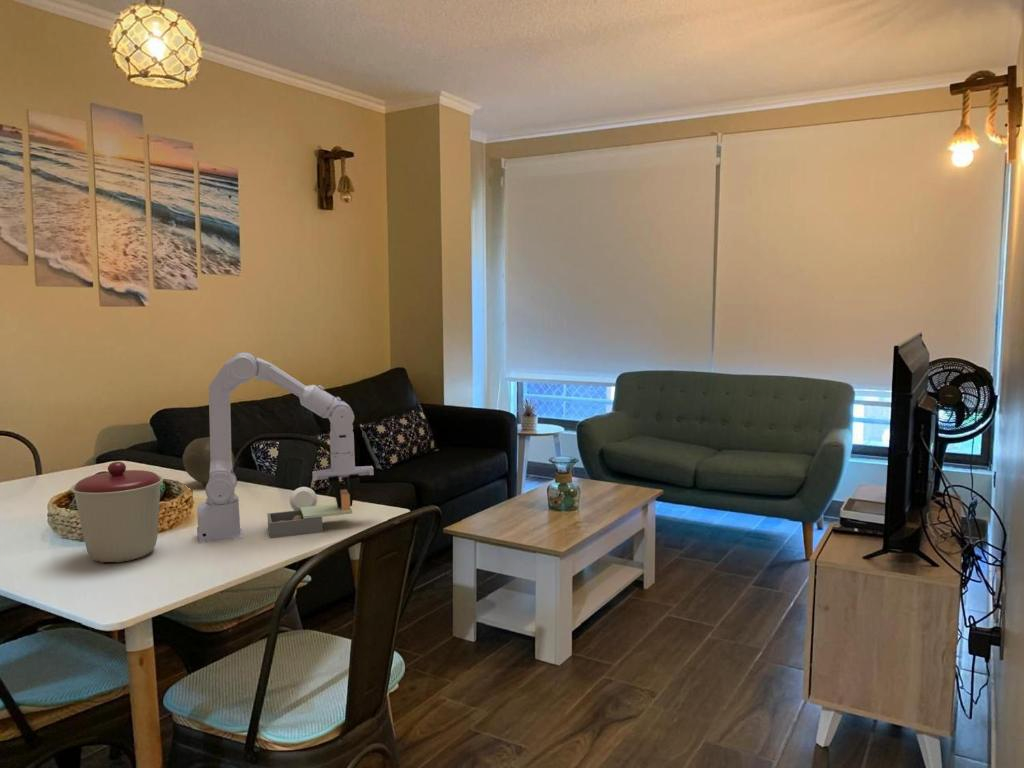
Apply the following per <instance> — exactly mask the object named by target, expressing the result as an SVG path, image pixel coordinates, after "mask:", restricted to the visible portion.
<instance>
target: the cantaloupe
mask: <svg viewBox="0 0 1024 768" xmlns="http://www.w3.org/2000/svg"><path fill="white" fill-rule="evenodd" d="M231 459H232V469H233V470H234V467H235V456H234V453H233V451H232V449H231ZM210 462H211V460H210V436H207V437H201V438H196V439H193V440H192V441H191V442H190V443H189V444H188V445H187V446H186V447H185V449H184V452H183V454H182V465H183V467H184V470H185V472H186V473H187V475H189V476H190V477H191V478H192V479H194V480H195V481H196V482H198V483H200V484H203V485H205V486H206V485H207V483H208V481H209V478H210Z"/></svg>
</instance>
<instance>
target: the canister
mask: <svg viewBox="0 0 1024 768" xmlns="http://www.w3.org/2000/svg"><path fill="white" fill-rule="evenodd" d="M126 466H127V465H126V464H125V463H124V462H122V461H113V462H111V463H110V464H109V465H108V466H107V472H102V473H96V474H93V475H90V476H87V477H84V478H82V479H80V480H79V481H77V482H76V483H75V484H73V485H72V486H71V487H70V492H71V493H73V495H74V498H75V499H74V500H75V504H76V508H77V513H78V517H79V521H80V528H81V532H82V535H83V540H84V544H85V548H86V552H87V553H88V555H89V557H90V558H91V559H92V560H93V561H95V560H96V561H95V562H98V561H99V563H104V562H116V563H122V562H123V563H125V562H129V561H133V560H136V559H137V560H138V559H140V558H142V557H145V556H146V555H149V554H150V553H151V552H153V550H154V549H155V547H156V545H157V541H158V531H159V521H160V519H159V518H160V500H161V499H160V497H161V484H162V483H163V481H164V477H163V476H162V475H158V474H157V473H155V472H154V471H149V470H140V469H138V470H137V469H128V470H127V467H126ZM124 561H125V562H124Z"/></svg>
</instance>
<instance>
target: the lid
mask: <svg viewBox="0 0 1024 768" xmlns="http://www.w3.org/2000/svg"><path fill="white" fill-rule="evenodd" d="M340 498H341V507H340V508H338V506H337V503H330V504H321V505H316V506H310V507H301V508H300V510H301V513H302V516H303V518H304V519H307V518H316V517H322V518H325V517H333V516H340V515H341V516H343V515H350V514H353V510H352V508H351V506H350V494H349V492H348V488H347V489H340Z"/></svg>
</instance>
